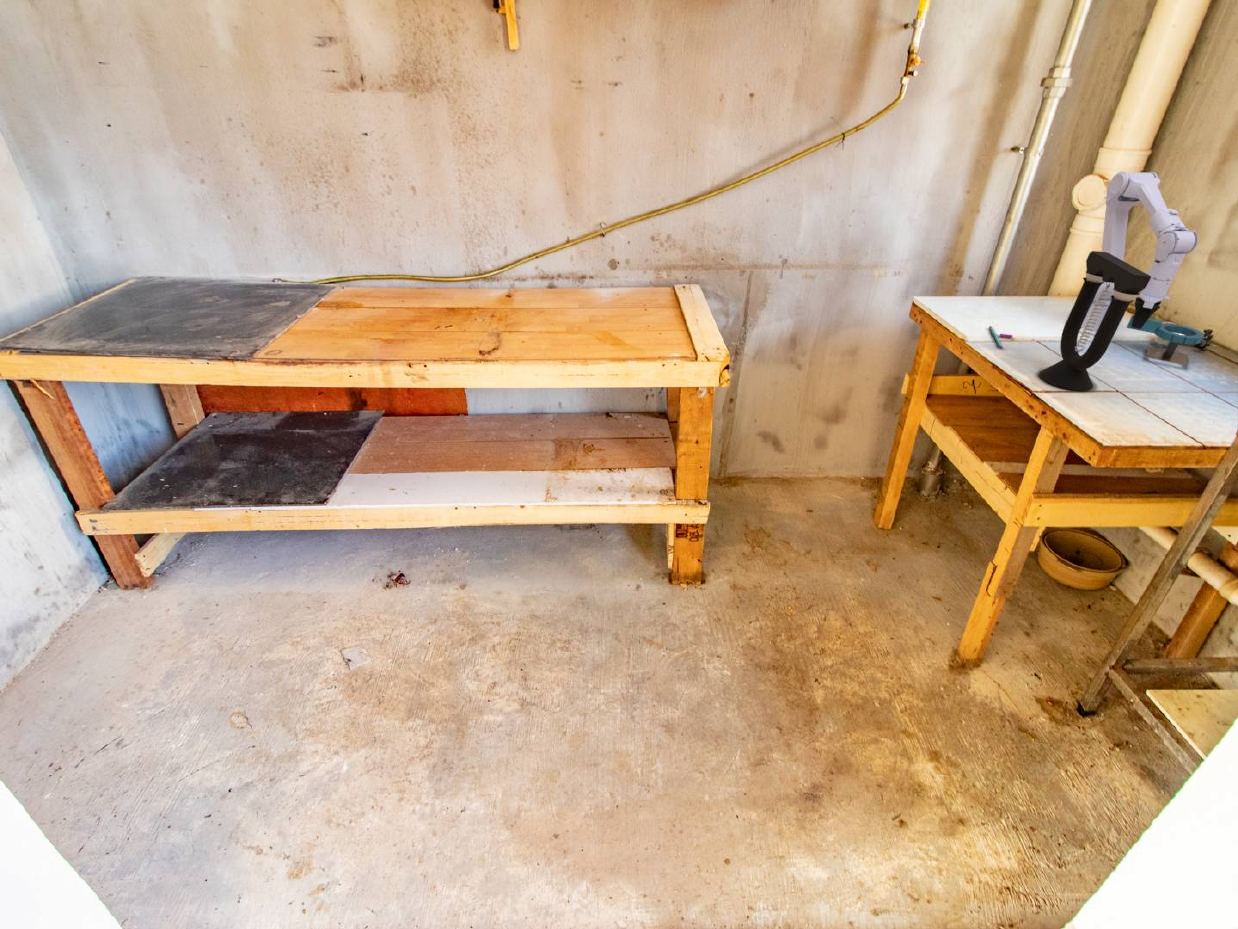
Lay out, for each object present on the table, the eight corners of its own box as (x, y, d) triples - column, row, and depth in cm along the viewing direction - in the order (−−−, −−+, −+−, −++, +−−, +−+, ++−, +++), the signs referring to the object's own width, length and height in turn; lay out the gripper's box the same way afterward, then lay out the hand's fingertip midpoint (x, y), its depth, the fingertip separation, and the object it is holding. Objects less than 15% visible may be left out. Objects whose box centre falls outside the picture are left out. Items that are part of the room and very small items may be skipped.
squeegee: (1019, 347, 183) (1000, 345, 184) (1018, 350, 183) (999, 348, 184) (1007, 327, 195) (989, 325, 196) (1006, 330, 195) (988, 328, 196)
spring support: (1108, 398, 159) (1167, 276, 143) (1055, 394, 160) (1108, 273, 144) (1070, 363, 176) (1119, 251, 160) (1023, 360, 178) (1067, 248, 161)
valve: (1153, 348, 186) (1204, 356, 182) (1164, 326, 182) (1216, 333, 178) (1148, 340, 191) (1197, 347, 187) (1159, 318, 187) (1209, 325, 183)
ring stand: (1144, 360, 179) (1154, 341, 176) (1146, 350, 185) (1155, 332, 182) (1185, 369, 174) (1195, 350, 171) (1185, 358, 180) (1195, 340, 177)
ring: (1125, 332, 178) (1130, 320, 176) (1128, 321, 185) (1133, 310, 183) (1200, 347, 170) (1206, 336, 168) (1200, 335, 177) (1206, 324, 175)
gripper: (1177, 287, 166) (1152, 337, 173) (1178, 274, 175) (1154, 322, 183) (1144, 281, 169) (1121, 331, 177) (1147, 269, 179) (1125, 316, 186)
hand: (1136, 326), depth 180 cm, fingers closed on ring, 2 cm apart
